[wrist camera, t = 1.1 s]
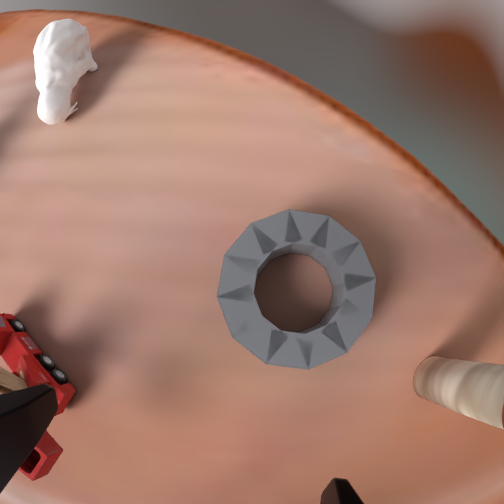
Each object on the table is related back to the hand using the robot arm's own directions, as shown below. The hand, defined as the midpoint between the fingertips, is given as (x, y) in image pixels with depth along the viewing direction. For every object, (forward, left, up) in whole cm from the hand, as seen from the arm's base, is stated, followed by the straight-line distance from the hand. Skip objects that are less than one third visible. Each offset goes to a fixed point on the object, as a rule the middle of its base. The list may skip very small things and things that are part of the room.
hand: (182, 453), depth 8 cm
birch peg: (-7, -15, -14) cm, 21 cm away
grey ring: (+4, -7, -14) cm, 16 cm away
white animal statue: (+32, +7, -14) cm, 36 cm away
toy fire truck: (+4, +15, -14) cm, 21 cm away
